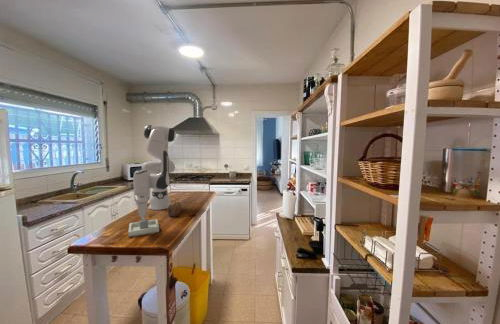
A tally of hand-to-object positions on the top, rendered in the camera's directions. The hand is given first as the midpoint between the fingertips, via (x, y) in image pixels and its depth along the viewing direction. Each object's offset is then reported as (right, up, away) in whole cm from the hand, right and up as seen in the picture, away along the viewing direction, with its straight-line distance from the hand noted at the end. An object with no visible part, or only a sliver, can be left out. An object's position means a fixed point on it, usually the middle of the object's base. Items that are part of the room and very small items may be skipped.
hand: (143, 218), depth 134 cm
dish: (+1, -7, 0) cm, 7 cm away
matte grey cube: (+1, -6, 0) cm, 6 cm away
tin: (+9, -5, +31) cm, 33 cm away
